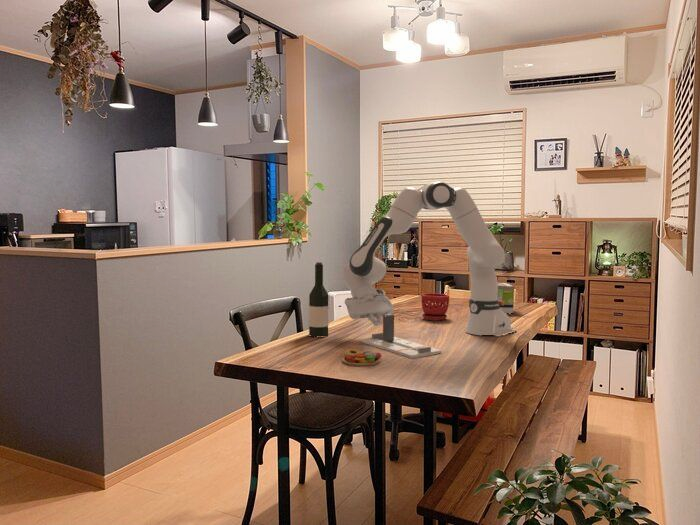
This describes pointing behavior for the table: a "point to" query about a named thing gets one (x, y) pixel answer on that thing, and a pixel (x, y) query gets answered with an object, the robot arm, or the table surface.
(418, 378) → the table surface
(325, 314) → the wine bottle
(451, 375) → the table surface
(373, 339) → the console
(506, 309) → the tea box
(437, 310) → the plant pot
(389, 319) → the fader tab
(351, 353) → the toy food set
